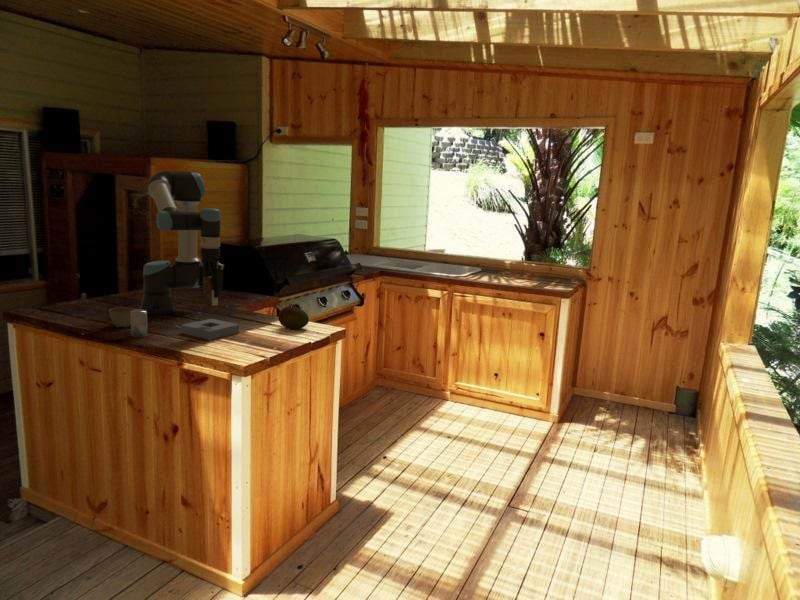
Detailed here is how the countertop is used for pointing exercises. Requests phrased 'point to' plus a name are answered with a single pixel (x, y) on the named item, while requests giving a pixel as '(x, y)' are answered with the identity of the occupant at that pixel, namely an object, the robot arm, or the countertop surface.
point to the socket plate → (210, 329)
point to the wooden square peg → (208, 295)
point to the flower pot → (121, 316)
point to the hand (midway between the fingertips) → (210, 304)
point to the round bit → (138, 323)
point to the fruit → (293, 318)
